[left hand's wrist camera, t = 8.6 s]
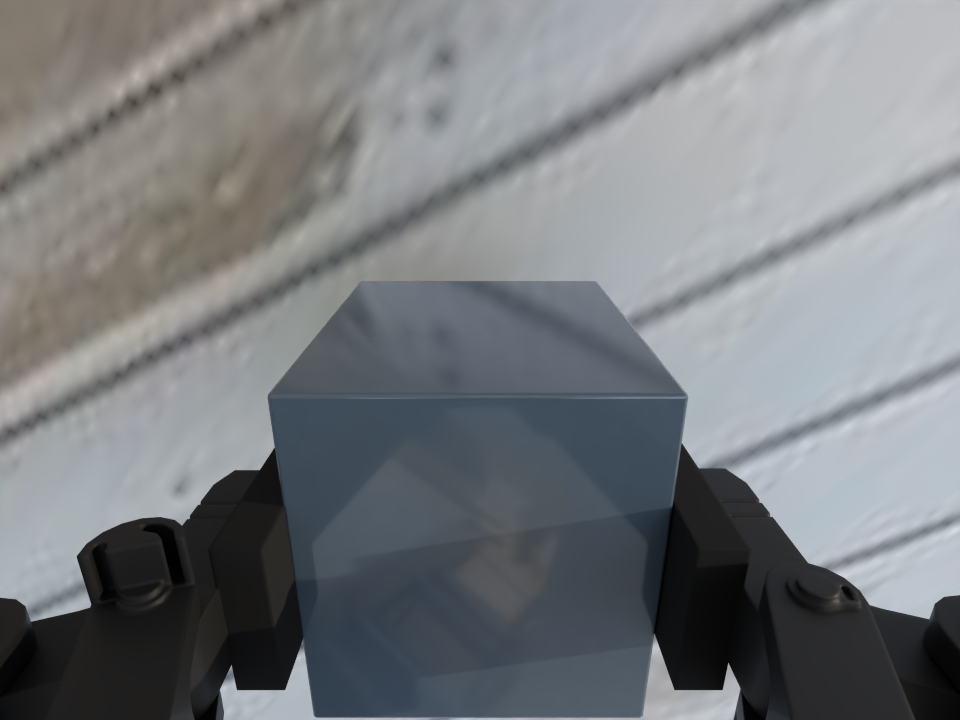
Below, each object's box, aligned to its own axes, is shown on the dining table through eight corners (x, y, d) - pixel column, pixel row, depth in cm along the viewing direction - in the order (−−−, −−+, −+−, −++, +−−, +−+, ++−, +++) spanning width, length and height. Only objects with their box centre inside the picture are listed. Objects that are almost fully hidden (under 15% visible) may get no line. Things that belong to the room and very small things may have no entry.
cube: (580, 497, 17) (643, 719, 11) (376, 497, 17) (313, 719, 11) (597, 280, 15) (689, 394, 8) (360, 280, 15) (265, 394, 8)
